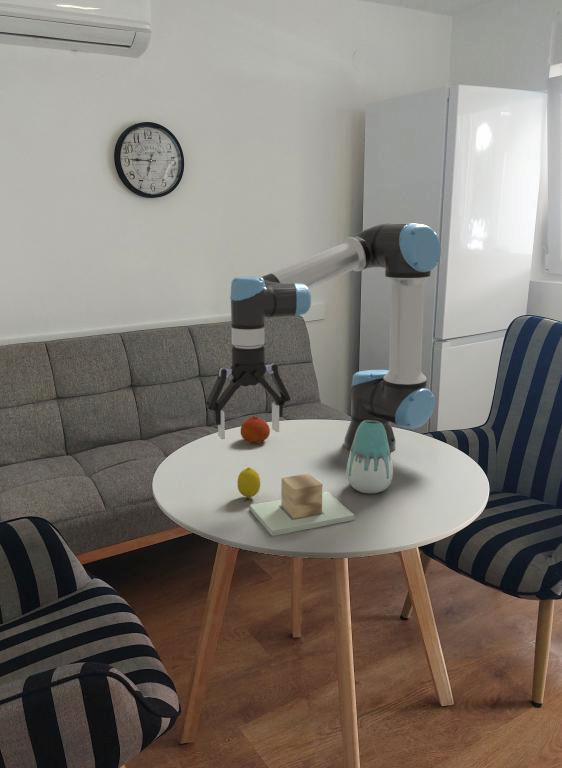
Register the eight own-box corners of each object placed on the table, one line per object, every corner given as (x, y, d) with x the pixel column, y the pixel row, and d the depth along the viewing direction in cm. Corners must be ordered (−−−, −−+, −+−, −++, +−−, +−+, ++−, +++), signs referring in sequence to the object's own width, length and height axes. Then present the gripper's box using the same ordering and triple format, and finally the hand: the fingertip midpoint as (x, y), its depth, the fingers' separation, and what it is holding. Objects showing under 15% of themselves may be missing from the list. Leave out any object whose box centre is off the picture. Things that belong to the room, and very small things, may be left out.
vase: (365, 476, 170) (367, 411, 166) (401, 488, 162) (404, 420, 158) (336, 488, 163) (338, 420, 158) (373, 502, 155) (376, 431, 150)
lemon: (237, 494, 159) (236, 463, 157) (259, 493, 160) (259, 463, 158) (237, 503, 154) (237, 472, 152) (261, 502, 154) (260, 471, 152)
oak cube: (308, 501, 152) (309, 473, 151) (321, 513, 146) (322, 484, 144) (281, 506, 150) (281, 477, 148) (293, 518, 143) (293, 489, 142)
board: (326, 496, 158) (326, 491, 158) (354, 519, 146) (354, 514, 145) (249, 509, 151) (249, 504, 150) (272, 536, 138) (272, 530, 138)
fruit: (262, 448, 191) (262, 422, 189) (235, 444, 195) (235, 418, 193) (275, 439, 199) (275, 414, 197) (249, 435, 202) (249, 411, 200)
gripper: (291, 339, 155) (290, 423, 160) (190, 346, 146) (193, 435, 151) (304, 344, 148) (303, 431, 154) (199, 352, 139) (202, 445, 144)
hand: (249, 433), depth 152 cm, fingers open, 13 cm apart
